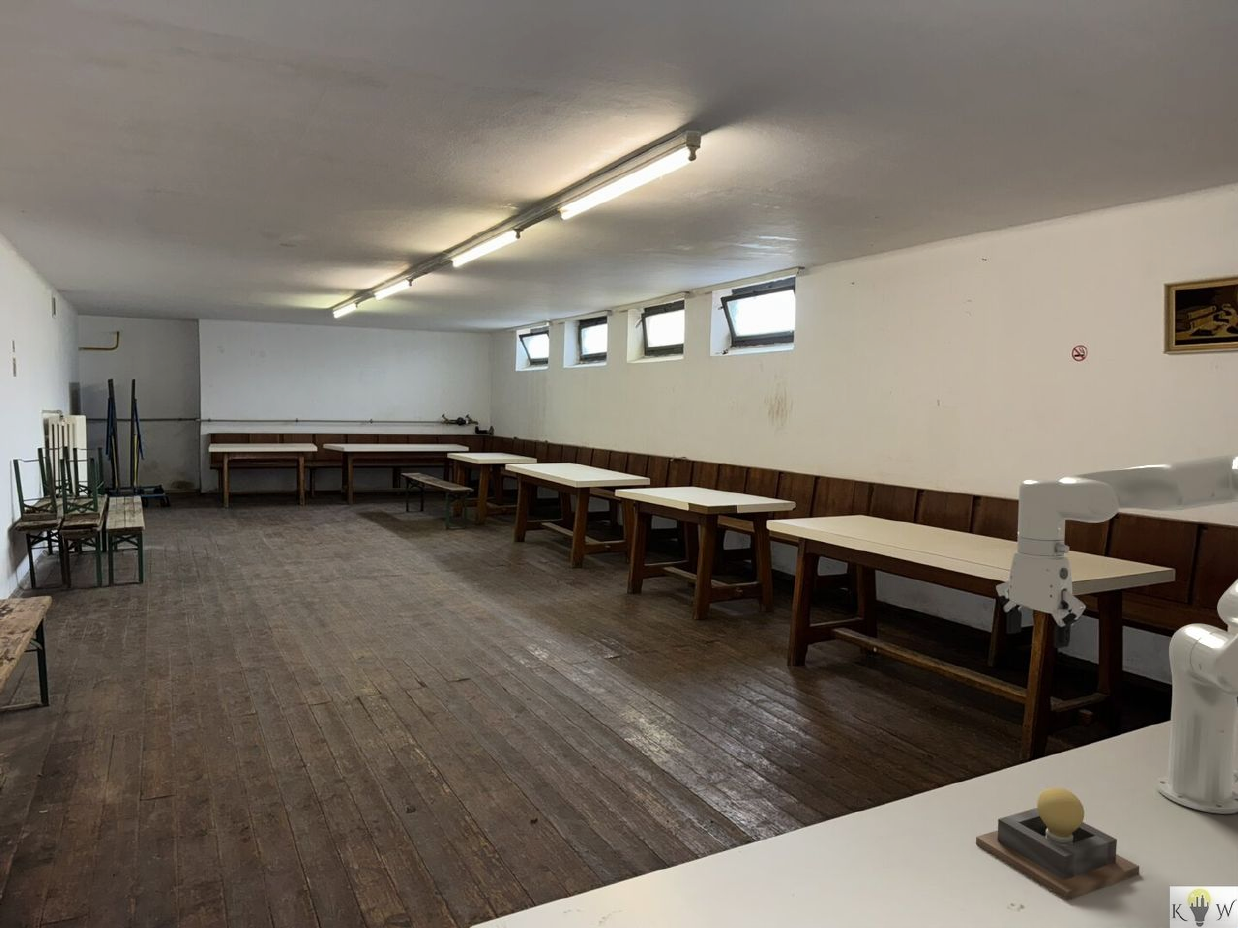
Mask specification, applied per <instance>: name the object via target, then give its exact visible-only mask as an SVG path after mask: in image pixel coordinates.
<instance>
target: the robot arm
mask: <svg viewBox="0 0 1238 928" xmlns="http://www.w3.org/2000/svg"><path fill="white" fill-rule="evenodd" d="M1018 491H1019V493H1018V516H1017V518H1018V519H1017V521H1018V523H1017V541H1016V542H1017V546H1016V549H1017V550H1016V551H1014V554H1013V557H1012V561H1011V565H1010V572H1009V578H1008V579H1009V580H1008V581H1005V582H1002V583H1000V584H997V585H996V586H995V589H996V592H997V593H998V596H999V598H998V599H999V602H1000V603H1001V604H1002V606H1003V610H1004V612H1005V613H1006V633H1007V634H1010V635H1011V634H1017V633H1021V632H1022V617H1023V615H1022V610H1020V609H1021V608H1022V607H1024V608H1028V609H1031V610H1034V611H1035V610H1036V611H1039V612H1041V613H1042V612H1043V613H1047V614H1051V615H1052V617H1053V619H1054V621H1055V622H1056V624H1057V625H1054V627H1053V628H1054V629H1053V647H1054V648H1056V649H1060V648H1061V649H1062V648H1066V647H1067V648H1068V647H1069V645H1070V640H1071V626H1073V625H1074V624H1075V623H1076V622H1077V621H1078V620H1080V619H1081V616H1082V614H1083V612H1085V610H1086V605H1085V604H1084V602H1082V601H1081V600H1079V599H1078V598H1077V597H1076V596H1074V594H1073V580H1072V577H1073V576H1072V572H1071V571H1072V570H1071V565H1070V564H1071V563H1070V561H1069V557H1067V556H1064V554H1068V553H1069V551H1070V546H1068V545H1066V544H1065V533H1066V532H1065V531H1066V520H1067V521H1078V522H1083V523H1090V524H1091V523H1095V524H1097V523H1098V524H1099V523H1103V522H1107V521H1108V520H1110V519H1112V518H1113V517H1115V516H1116V514H1118V512H1119V511H1120V509H1138V510H1150V511H1159V512H1161V511H1162V512H1165V511H1166V512H1167V511H1169V512H1170V511H1171V512H1173V511H1175V512H1177V511H1182V510H1189V509H1196V508H1201V507H1209V506H1215V505H1224V504H1231V503H1238V452H1237V453H1236V452H1235V453H1228V454H1221V455H1215V456H1214V455H1213V456H1208V457H1202V458H1196V459H1189V460H1183V461H1182V460H1180V461H1174V462H1167V463H1161V464H1149V465H1143V466H1135V467H1127V468H1116V469H1108V470H1100V471H1094V472H1093V471H1092V472H1086V473H1080V474H1079V473H1078V474H1074V475H1068V476H1065V477H1062V478H1061V479H1059V480H1055V479H1042V478H1041V479H1040V478H1034V479H1033V478H1032V479H1026V480H1023V481H1021V483H1020V485H1019V490H1018ZM1221 595H1222V596H1221V597H1220V598H1219V600H1218V603H1217V606H1216V608H1217V609H1216V610H1217V614H1218V617H1220V619H1221V620H1222V621H1223V622H1224V623H1225V624H1226V625H1228V626H1229V627H1231V628H1233V629H1234V630H1236V631H1238V578H1237V579H1236V580H1235V581H1234V582H1233V583H1232V584H1231V585H1230V586H1229V587H1228V588H1227V590H1225V591H1224V593H1223V594H1221ZM1168 647H1169V648H1168V656H1169V657H1168V659H1169V664H1170V670H1171V671H1170V672H1171V679H1172V680H1171V681H1172V697H1171V712H1170V729H1169V730H1170V732H1169V746H1168V747H1169V749H1168V751H1169V753H1168V766H1167V768H1168V769H1167V775H1164V776H1162V777H1159V778H1158V779H1157V783H1156V787H1157V790H1158V791H1159V792H1160V794H1162V796H1164V797H1165V798H1167V799H1169V800H1170V801H1171V802H1175V803H1176V804H1178V805H1181V806H1184V807H1187V808H1190V809H1194V810H1197V811H1201V812H1206V813H1212V814H1219V815H1220V814H1222V815H1223V814H1224V815H1225V814H1226V815H1227V814H1237V813H1238V793H1236V792H1235V791H1234V785H1235V783H1238V770H1237V769H1235V762H1236V761H1235V759H1236V757H1235V756H1236V744H1237V743H1236V741H1237V727H1238V725H1237V724H1238V632H1237V633H1236V634H1233V633H1230V632H1229V631H1226V630H1225V629H1221V628H1219V627H1217V626H1213V625H1210V624H1205V623H1191V624H1187V625H1184V626H1182V627H1180V628H1179V629H1178V630H1176V631H1175V632H1174V634H1173V635H1172V637H1171V640H1170V642H1169V646H1168Z"/></svg>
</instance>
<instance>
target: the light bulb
mask: <svg viewBox="0 0 1238 928" xmlns="http://www.w3.org/2000/svg"><path fill="white" fill-rule="evenodd" d="M1036 804H1037V805H1036V808H1038V813H1039V815H1040V817H1041V819H1042V821H1043V822H1044V823H1045V825H1046V826H1047V829H1046V836H1045V838H1047V839H1049V840H1051V841H1053V842H1054V843H1056V844H1058V845H1060V846H1065V845H1069V844H1072V843H1073V842H1072V841H1073V835H1072V833H1073V832H1074V831H1075V830H1076V829H1078V828H1079V826H1080V825H1081V824H1082V822H1083V821H1084V818H1085V810H1084V806H1083V804H1082V802H1081V800H1080V799H1079V797H1078V796H1077V795H1075V793H1074V792H1072V791H1071V790H1068V789H1066V788H1062V787H1049V788H1046V789H1044V790H1042V791H1041V793H1040V794H1039V796H1038V798H1037V802H1036Z"/></svg>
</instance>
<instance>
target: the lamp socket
mask: <svg viewBox="0 0 1238 928" xmlns="http://www.w3.org/2000/svg"><path fill="white" fill-rule="evenodd" d="M997 821H998V822H997V830H995V831H991V832H987V833H985V834H981V835H977V836H976V837H975V839H976V840H975V844H976V845H977V846H979V847H980V848H982V849H984V850H986V851H987V852H989V854H992V855H993V856H995V857H997V858H998V859H1000V860H1001V861H1003V862H1005V863H1006V864H1008V865H1009V866H1011V867H1013V868H1014V869H1016V870H1018V871H1019V872H1021V873H1022V874H1024V875H1025V876H1027V877H1029V878H1031V880H1034V881H1036V882H1037V883H1038V884H1041V885H1042V886H1044V887H1045V888H1047V889H1048V890H1050V891H1052V892H1053V893H1055V894H1057V895H1058V896H1059V897H1061V898H1063V899H1064V900H1066V901H1069V900H1072V899H1074V898H1078V897H1080V896H1083V895H1086V894H1088V893H1090V892H1093V891H1097V890H1099V889H1101V888H1105V887H1106V886H1111V885H1113V884H1115V883H1118V882H1122V881H1124V880H1126V879H1129V878H1132V877H1134V876H1138V875H1140V868H1141V867H1140V865H1138V864H1136V863H1134V862H1133V861H1130V860H1128V859H1126V858H1124V857H1123V856H1121V855H1119V854H1118V853H1117V845H1118V843H1117V842H1118V839H1117V838H1115V837H1113V836H1111V835H1109V834H1107V833H1106V832H1103V831H1101V830H1100V829H1097V828H1095V827H1093V826H1091V825H1089V824H1088V823H1086V822H1082V824H1081V825H1080V826H1079V828H1078V829H1076V830H1075V831H1074V832H1073V833H1072V835H1073V841H1072V842H1073V843H1072V844H1069V845H1065V846H1060V845H1058V844H1056V843H1054V842H1053V841H1051V840H1049V839H1047V838H1045V836H1046V829H1047V826H1046V825H1045V823H1044V822H1043V821H1042V819H1041V817H1040V815H1039V813H1038V808H1037V807H1035V808H1031V809H1028V810H1025V811H1021V812H1018V813H1014V814H1010V815H1007V816H1004V817H1000V818H998V820H997Z"/></svg>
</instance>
